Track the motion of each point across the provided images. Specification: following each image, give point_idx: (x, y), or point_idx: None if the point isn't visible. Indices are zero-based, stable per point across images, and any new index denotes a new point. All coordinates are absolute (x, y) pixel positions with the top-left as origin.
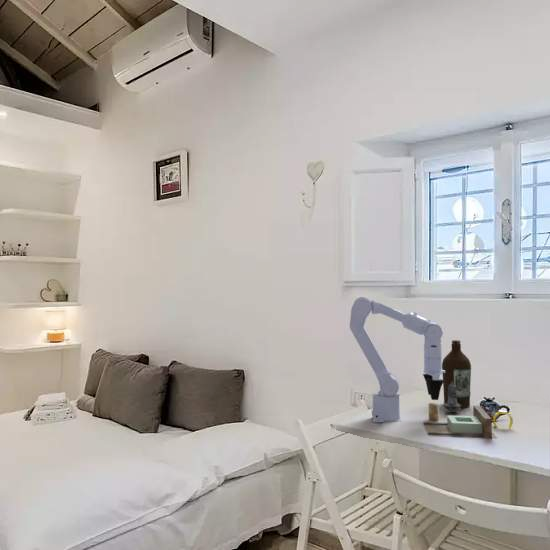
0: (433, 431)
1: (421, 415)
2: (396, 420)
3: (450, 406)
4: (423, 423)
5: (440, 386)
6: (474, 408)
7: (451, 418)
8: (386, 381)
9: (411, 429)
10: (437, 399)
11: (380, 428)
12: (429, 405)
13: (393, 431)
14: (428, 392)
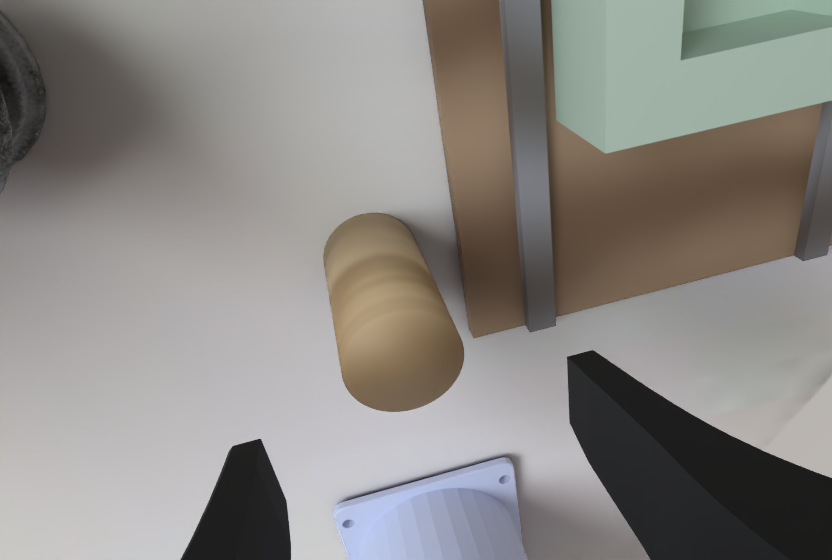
0: (749, 220)
1: (177, 383)
2: (488, 495)
3: (7, 141)
4: (537, 323)
5: (815, 481)
6: None
7: (737, 96)
8: None
9: (641, 368)
10: (599, 359)
11: None
12: (438, 388)
13: None
14: (288, 534)
